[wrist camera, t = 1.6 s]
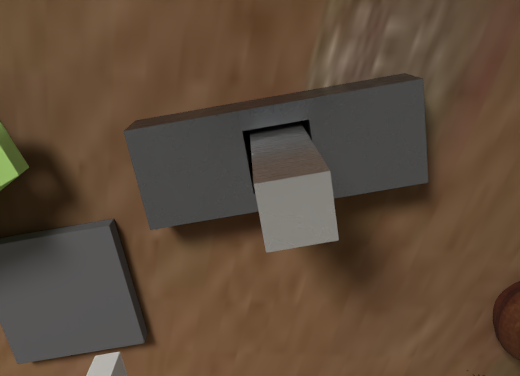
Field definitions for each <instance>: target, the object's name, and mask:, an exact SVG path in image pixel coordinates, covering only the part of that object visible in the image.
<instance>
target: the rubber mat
mask: <svg viewBox="0 0 520 376" xmlns="http://www.w3.org/2000/svg"><path fill="white" fill-rule="evenodd" d="M0 323H1V325H2V328H3V330H4V333H5V335H6V337H7V340H8V342H9V345H10V347H11V349H12V352H13V354H14V356H15V359H16V361H17V364H22V363H28V362H34V361H40V360H46V359H52V358H58V357H64V356H70V355H76V354H82V353H88V352H94V351H100V350H106V349H112V348H118V347H124V346H130V345H136V344H142V343H145V340H146V337H147V334H148V333H147V329H146V326H145V322H144V319H143V316H142V312H141V309H140V306H139V302H138V299H137V295H136V292H135V289H134V285H133V282H132V279H131V275H130V272H129V269H128V265H127V262H126V258H125V255H124V252H123V248H122V245H121V242H120V238H119V235H118V231H117V228H116V225H115V221H114V219H109V220H103V221H97V222H91V223H86V224H80V225H74V226H68V227H62V228H56V229H51V230H45V231H39V232H33V233H27V234H21V235H16V236H10V237H4V238H0Z"/></svg>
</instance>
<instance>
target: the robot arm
mask: <svg viewBox="0 0 520 376" xmlns="http://www.w3.org/2000/svg"><path fill="white" fill-rule="evenodd" d="M86 376H128V375H127V372H126V369H125V366H124V363H123V360H122V357H121V354H120V352H115V353H109V354H103V355H97V356H95V357H94V360H93V362H92V364H91V366H90V369H89V371H88V373H87V375H86Z"/></svg>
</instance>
